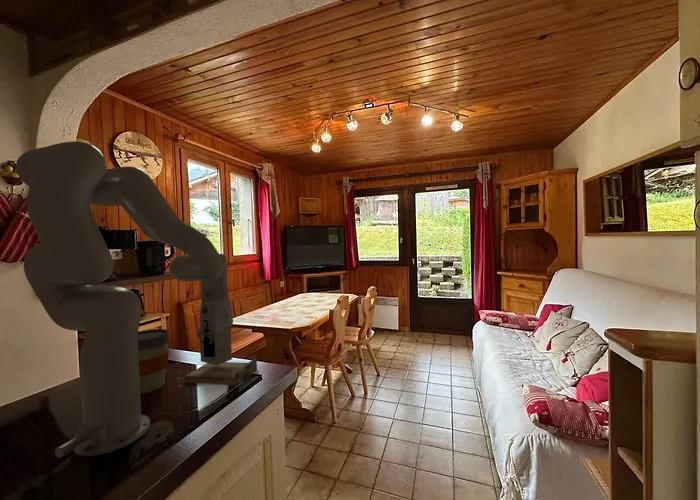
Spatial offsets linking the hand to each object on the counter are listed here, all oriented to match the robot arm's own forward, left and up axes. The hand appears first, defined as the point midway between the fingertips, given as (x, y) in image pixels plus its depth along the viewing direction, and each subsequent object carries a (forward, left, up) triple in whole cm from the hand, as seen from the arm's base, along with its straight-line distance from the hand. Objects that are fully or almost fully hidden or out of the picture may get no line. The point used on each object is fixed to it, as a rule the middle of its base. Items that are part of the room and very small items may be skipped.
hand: (217, 351), depth 92 cm
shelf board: (0, -1, -7) cm, 7 cm away
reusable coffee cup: (-9, +17, -8) cm, 21 cm away
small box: (0, +1, -3) cm, 3 cm away
